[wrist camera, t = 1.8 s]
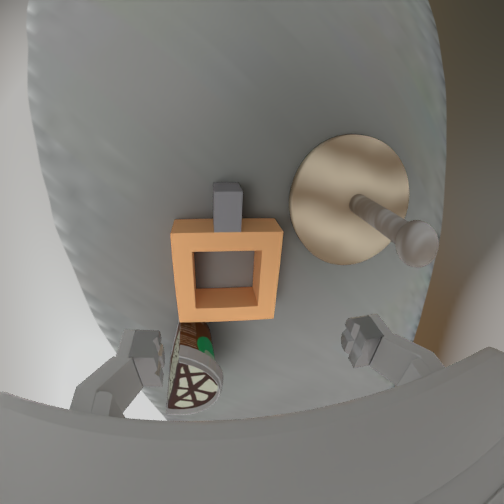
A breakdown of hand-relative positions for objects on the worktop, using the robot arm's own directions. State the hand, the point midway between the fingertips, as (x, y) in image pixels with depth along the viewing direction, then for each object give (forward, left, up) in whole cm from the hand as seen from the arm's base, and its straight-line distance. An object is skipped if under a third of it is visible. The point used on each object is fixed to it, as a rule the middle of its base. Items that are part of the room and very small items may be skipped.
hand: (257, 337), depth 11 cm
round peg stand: (-1, +15, -20) cm, 25 cm away
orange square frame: (+5, 0, -20) cm, 21 cm away
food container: (+19, -4, -21) cm, 29 cm away
